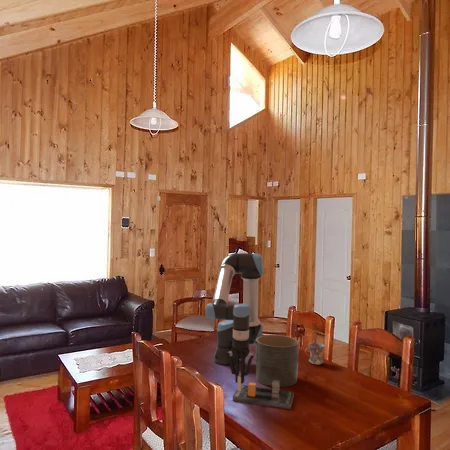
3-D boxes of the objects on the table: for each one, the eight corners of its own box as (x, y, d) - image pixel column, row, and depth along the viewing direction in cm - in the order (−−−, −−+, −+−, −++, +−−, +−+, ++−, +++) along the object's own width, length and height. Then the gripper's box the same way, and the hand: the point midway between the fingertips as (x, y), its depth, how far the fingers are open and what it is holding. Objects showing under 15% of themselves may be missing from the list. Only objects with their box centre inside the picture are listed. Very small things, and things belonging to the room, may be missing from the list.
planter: (302, 376, 211) (303, 338, 211) (291, 391, 191) (292, 349, 191) (263, 368, 221) (264, 332, 221) (249, 382, 200) (249, 342, 201)
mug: (318, 359, 238) (319, 342, 238) (327, 365, 229) (327, 346, 230) (301, 361, 234) (301, 343, 235) (309, 366, 226) (309, 348, 226)
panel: (232, 400, 179) (233, 385, 179) (239, 388, 192) (240, 374, 192) (290, 409, 172) (290, 393, 172) (293, 396, 185) (293, 381, 185)
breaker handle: (248, 395, 179) (248, 384, 179) (249, 393, 182) (249, 382, 182) (254, 396, 178) (254, 385, 178) (255, 394, 181) (256, 383, 181)
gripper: (225, 339, 180) (223, 391, 180) (253, 342, 176) (251, 395, 176) (229, 335, 187) (228, 384, 187) (256, 337, 183) (255, 388, 183)
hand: (239, 389), depth 181 cm, fingers closed
